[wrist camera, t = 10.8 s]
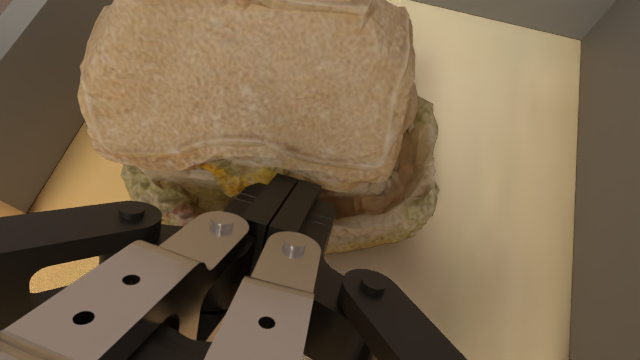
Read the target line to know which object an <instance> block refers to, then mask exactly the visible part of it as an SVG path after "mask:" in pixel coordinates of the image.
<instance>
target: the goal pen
mask: <svg viewBox="0 0 640 360" xmlns="http://www.w3.org/2000/svg"><path fill="white" fill-rule="evenodd" d="M113 1H114V0H13V1H12V2H11V3H10V5H9V6H8V7H7V8H6V9H5V11H4V12H3V13H2V14H1V15H0V217H5V216H12V215H20V214H26V213H27V212H28V210H29V208H30V207H31V205H32V204H33V202H34V200H35V199H36V197H37V196H38V194H39V192H40V191H41V189H42V188H43V186H44V184H45V183H46V181H47V180H48V178H49V176H50V175H51V173H52V172H53V170H54V168H55V167H56V165H57V164H58V162H59V160H60V159H61V157H62V156H63V154H64V152H65V151H66V149H67V148H68V146H69V144H70V143H71V141H72V140H73V138H74V136H75V135H76V133H77V132H78V130H79V128H80V127H81V125H82V124H83V122H84V117H83V115H82V113H81V109H80V105H79V101H78V96H77V95H78V90H79V85H80V80H81V79H80V77H81V70H80V65H81V63H82V61H83V59H84V57H85V52H86V47H87V42H88V40H89V38H90V35H91V32H92V30H93V27H94V24H95V22H96V20H97V18H98V17H99V15H100V13H101V11H102V10H103V8H104V6H108V5H111V4H112V3H113ZM413 1H417V2H422V3H426V4H430V5H434V6H439V7H443V8H447V9H451V10H456V11H460V12H464V13H468V14H473V15H477V16H481V17H485V18H490V19H494V20H498V21H502V22H507V23H511V24H515V25H519V26H524V27H528V28H532V29H536V30H541V31H545V32H549V33H553V34H557V35H562V36H566V37H570V38H574V39H579V40H581V66H580V92H579V119H578V145H577V172H576V199H575V225H574V252H573V278H572V305H571V331H570V358H569V360H640V0H413Z"/></svg>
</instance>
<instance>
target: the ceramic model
mask: <svg viewBox="0 0 640 360" xmlns="http://www.w3.org/2000/svg"><path fill="white" fill-rule="evenodd" d="M80 70H81V77H80V79H81V80H80V85H79V90H78V95H77V96H78V101H79V105H80V109H81V113H82V115H83V117H84V120H85V122H86V124H87V126H88V129H87V134H88V136H89V137H90V139H91V140H92V144H93V148H94V150H95V151H96V152H98V153H99V154H100V155H101V156H103V157H104V158H105V159H107V160H110V161H113V162H117V163H121V164H124V166H123V169H122V173H121V177H122V178H123V180H124V181H125V185H126V188H127V190H128V192H129V194H130V197H131V199H132V201H139V202H145V203H149V204H152V205H154V206H156V207H157V208H158V209H159V210H160V211H161V212H162V222H161V224H165V225H175V226H186V225H187V224H188V223H190V222H191V221H192V220H194V219H195V218H196V217H198V216H199V215H201V214H203V213H207V212H213V211H223V210H224V209H225V208H226V207H227V206H228V205H229V204H230V203H231V202H232V201H233V200H234V199H235V198H236V197H237V196H238V195H239V194H240V193H241V192H242V191H243V190H244V189H245V188H246V187H247V186H249V185H252V184H255V183H258V182H259V183H263V184H266V185H268V184H269V182H270V181H271V180H272V179H273V178H274V177H275V175H276V174H277V173H279V174H283V175H287V176H290V177H294V178H297V179H299V180H300V179H301V180H305V181H308V182H312V183H315V184H319V185H321V192H320V196H319V200H323V201H326V202H330V203H333V205H334V207H335V210H336V215H335V219H334V223H333V227H332V230H331V234H330V238H329V241H328V245H327V249H326V252H325V254H327V253H334V252H349V251H351V250H353V249H364V248H368V247H373V246H377V245H380V244H384V243H395V242H398V241H400V240H404V239H405V238H408V237H412V236H414V235H415V232H416V230H419V229H421V228H422V226H423V225H424V224H426V221H427V220H428V219H429V218H430V217H431V216H432V215H433V213H434V210H435V206H436V202H437V194H438V193H439V188H438V186H437V184H436V183H435V181H434V175H433V174H434V173H435V169H434V167H433V162H434V158H433V150H434V145H435V142H436V139H437V134H438V126H437V123H436V120H435V118H434V115H433V104H432V103H430V102H428V101H426V100H424V99H422V98H420V97H418V96H417V91H416V86H415V84H414V79H415V52H414V48H413V34H412V24H411V20H410V18H409V14H408V12H407V10H406V8H405V7H397V6H395V5H393V4H391V3H389V2H387V1H386V0H114V1H113V3H112V4H111V5H108V6H104V8H103V10H102V11H101V13H100V15H99V17H98V18H97V20H96V22H95V24H94V27H93V30H92V32H91V35H90V38H89V40H88V42H87V47H86V52H85V57H84V59H83V61H82V63H81V65H80Z"/></svg>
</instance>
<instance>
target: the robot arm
mask: <svg viewBox="0 0 640 360" xmlns="http://www.w3.org/2000/svg"><path fill="white" fill-rule="evenodd" d="M320 192H321V185H319V184H315V183H312V182H308V181H305V180H301V179H300V180H299V179H297V178H294V177H290V176H287V175H283V174H279V173H277V174H276V175H275V177H274V178H273V179H272V180H271V181H270V182H269V184H268V185H266V184H263V183H259V182H258V183H255V184H252V185H249V186H247V187H246V188H245V189H244V190H243V191H242V192H241V193H240V194H239V195H238V196H237V197H236V198H235V199H234V200H233V201H232V202H231V203H230V204H229V205H228V206H227V207H226V208H225V209H224V210H223V211H213V212H207V213H203V214H201V215H199V216H198V217H196V218H195V219H194V220H192V221H191V222H190V223H188V224H187V225H186V226H175V225H165V224H161V222H162V212H161V211H160V210H159V209H158V208H157V207H156V206H154V205H152V204H149V203H145V202H139V201H122V202H114V203H106V204H99V205H91V206H83V207H75V208H67V209H59V210H52V211H44V212H36V213H28V214H20V215H12V216H5V217H0V360H302V357H303V354H305V355H306V356H308V357H309V358H311V359H312V360H467V359H466V358H465V357H464V356H463V355H462V354H461V353H460V352H459V351H458V350H457V348H456V347H455V346H454V345H453V344H452V343H451V342H450V341H449V340H448V339H447V338H446V337H445V336H444V335H443V334H442V333H441V332H440V330H439V329H438V328H437V327H436V326H435V325H434V324H433V323H432V322H431V321H430V320H429V319H428V318H427V317H426V316H425V315H424V314H423V312H422V311H421V310H420V309H419V308H418V307H417V306H416V305H415V304H414V303H413V302H412V301H411V300H410V299H409V298H408V297H407V296H406V294H405V293H404V292H403V291H402V290H401V289H400V288H399V287H398V286H397V285H396V284H395V283H394V282H393V281H392V280H391V279H389V278H388V277H386V276H384V275H383V274H380V273H378V272H375V271H372V270H367V269H355V270H351V271H349V272H347V273H346V274H345V275H344V276H343V275H341V274H339V273H338V272H336V271H335V270H333V269H332V268H331V267H330V266H329V265H328V264H327V263H326V262H325V260H324V255H325V252H326V249H327V245H328V241H329V238H330V234H331V230H332V227H333V223H334V219H335V215H336V210H335V207H334V205H333V203H330V202H326V201H323V200H319V196H320ZM95 256H99V266H97V267H96V268H94V269H93V270H91V271H90V272H88V273H87V274H85V275H84V276H82V277H81V278H79V279H78V280H76V281H75V282H73V283H72V284H70V285H69V286H65V287H61V288H56V289H52V290H48V291H44V292H40V293H30V291H29V282H30V279H31V277H32V276H33V275H34V274H35V273H36V272H37V271H39V270H40V269H42V268H44V267H47V266H51V265H56V264H61V263H66V262H71V261H76V260H81V259H85V258H90V257H95Z"/></svg>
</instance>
